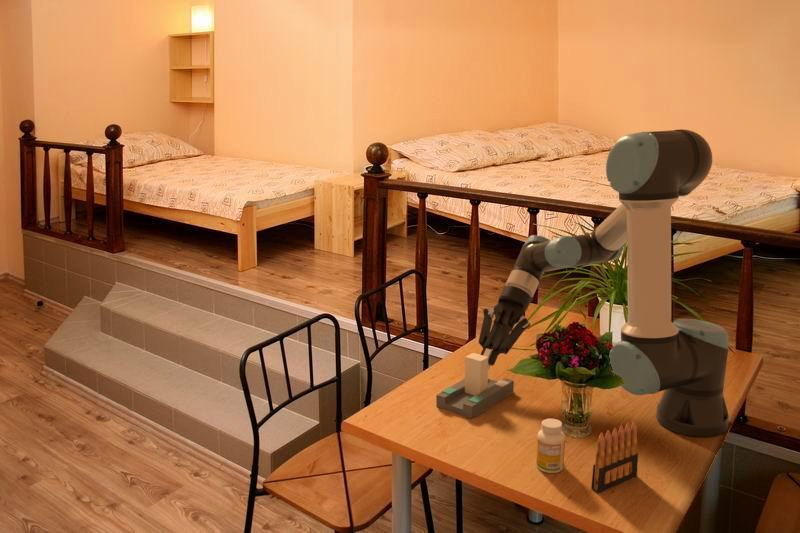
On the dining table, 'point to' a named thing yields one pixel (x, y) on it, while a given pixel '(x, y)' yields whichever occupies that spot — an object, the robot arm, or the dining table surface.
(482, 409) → the switch base
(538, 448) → the supplement bottle
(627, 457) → the ammunition clip
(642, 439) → the dining table surface
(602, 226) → the robot arm
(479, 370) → the switch tab
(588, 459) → the dining table surface
